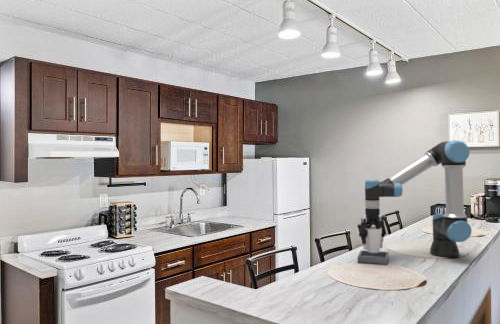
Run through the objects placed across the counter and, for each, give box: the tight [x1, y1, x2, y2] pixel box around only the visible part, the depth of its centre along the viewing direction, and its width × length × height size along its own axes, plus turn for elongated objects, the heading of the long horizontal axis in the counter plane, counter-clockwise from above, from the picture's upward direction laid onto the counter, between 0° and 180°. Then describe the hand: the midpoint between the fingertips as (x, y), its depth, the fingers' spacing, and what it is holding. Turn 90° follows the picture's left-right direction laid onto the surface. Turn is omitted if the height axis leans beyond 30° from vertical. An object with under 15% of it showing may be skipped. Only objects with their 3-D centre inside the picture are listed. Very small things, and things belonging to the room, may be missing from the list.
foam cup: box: [365, 225, 382, 253], centre depth 211 cm, size 10×9×13 cm
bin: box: [357, 249, 390, 266], centre depth 212 cm, size 15×15×4 cm
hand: (373, 248), depth 212 cm, fingers closed on foam cup, 9 cm apart
